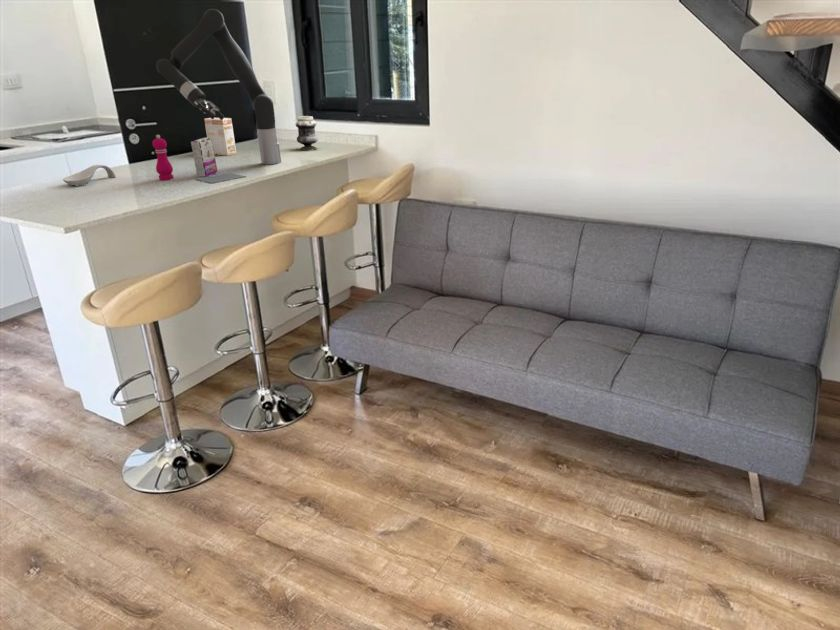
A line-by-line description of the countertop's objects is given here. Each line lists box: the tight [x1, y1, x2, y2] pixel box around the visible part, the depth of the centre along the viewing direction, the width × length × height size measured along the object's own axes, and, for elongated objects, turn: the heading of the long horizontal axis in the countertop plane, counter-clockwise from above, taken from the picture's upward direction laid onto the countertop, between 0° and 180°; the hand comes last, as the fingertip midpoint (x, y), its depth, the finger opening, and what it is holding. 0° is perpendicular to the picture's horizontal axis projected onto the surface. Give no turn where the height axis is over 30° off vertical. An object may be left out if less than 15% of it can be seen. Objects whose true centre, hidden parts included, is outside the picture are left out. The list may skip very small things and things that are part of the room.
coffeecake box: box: [203, 117, 237, 156], centre depth 346 cm, size 15×7×20 cm, turn 58°
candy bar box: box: [190, 137, 218, 178], centre depth 290 cm, size 11×5×16 cm, turn 168°
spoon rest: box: [62, 164, 116, 186], centre depth 284 cm, size 24×12×7 cm, turn 154°
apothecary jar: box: [295, 115, 319, 151], centre depth 353 cm, size 12×12×18 cm
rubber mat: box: [194, 172, 247, 184], centre depth 284 cm, size 18×14×1 cm
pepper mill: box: [152, 134, 174, 181], centre depth 283 cm, size 7×7×20 cm
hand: (218, 118), depth 288 cm, fingers open, 8 cm apart
